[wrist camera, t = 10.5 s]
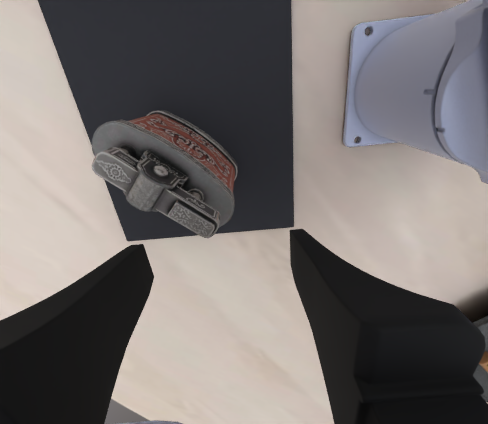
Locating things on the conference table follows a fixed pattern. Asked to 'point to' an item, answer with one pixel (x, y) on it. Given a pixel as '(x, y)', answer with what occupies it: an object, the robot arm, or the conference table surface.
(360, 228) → the conference table surface
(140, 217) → the desk mat
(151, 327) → the conference table surface
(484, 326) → the serving tray
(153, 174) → the lighter
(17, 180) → the conference table surface
